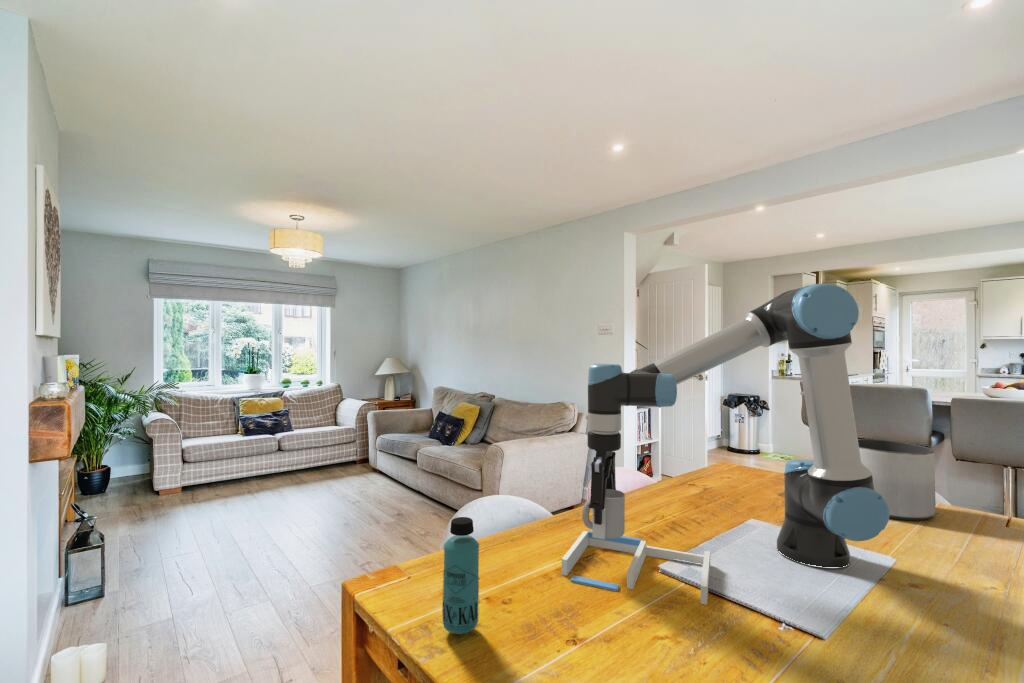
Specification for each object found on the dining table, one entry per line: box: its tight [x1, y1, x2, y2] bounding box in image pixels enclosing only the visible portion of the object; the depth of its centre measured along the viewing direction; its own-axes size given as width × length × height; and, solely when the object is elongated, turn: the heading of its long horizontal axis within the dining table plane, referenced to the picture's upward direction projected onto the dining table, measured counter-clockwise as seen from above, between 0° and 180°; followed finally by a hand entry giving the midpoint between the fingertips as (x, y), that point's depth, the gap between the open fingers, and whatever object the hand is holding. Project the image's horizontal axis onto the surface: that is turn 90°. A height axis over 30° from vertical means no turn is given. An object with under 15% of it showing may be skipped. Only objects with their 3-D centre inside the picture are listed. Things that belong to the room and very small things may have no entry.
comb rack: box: [561, 529, 711, 606], centre depth 109 cm, size 30×21×4 cm
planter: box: [858, 438, 937, 521], centre depth 152 cm, size 23×23×20 cm
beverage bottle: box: [441, 516, 480, 635], centre depth 86 cm, size 6×7×20 cm
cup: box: [581, 489, 626, 538], centre depth 110 cm, size 7×10×9 cm
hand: (603, 531), depth 111 cm, fingers closed on cup, 8 cm apart
